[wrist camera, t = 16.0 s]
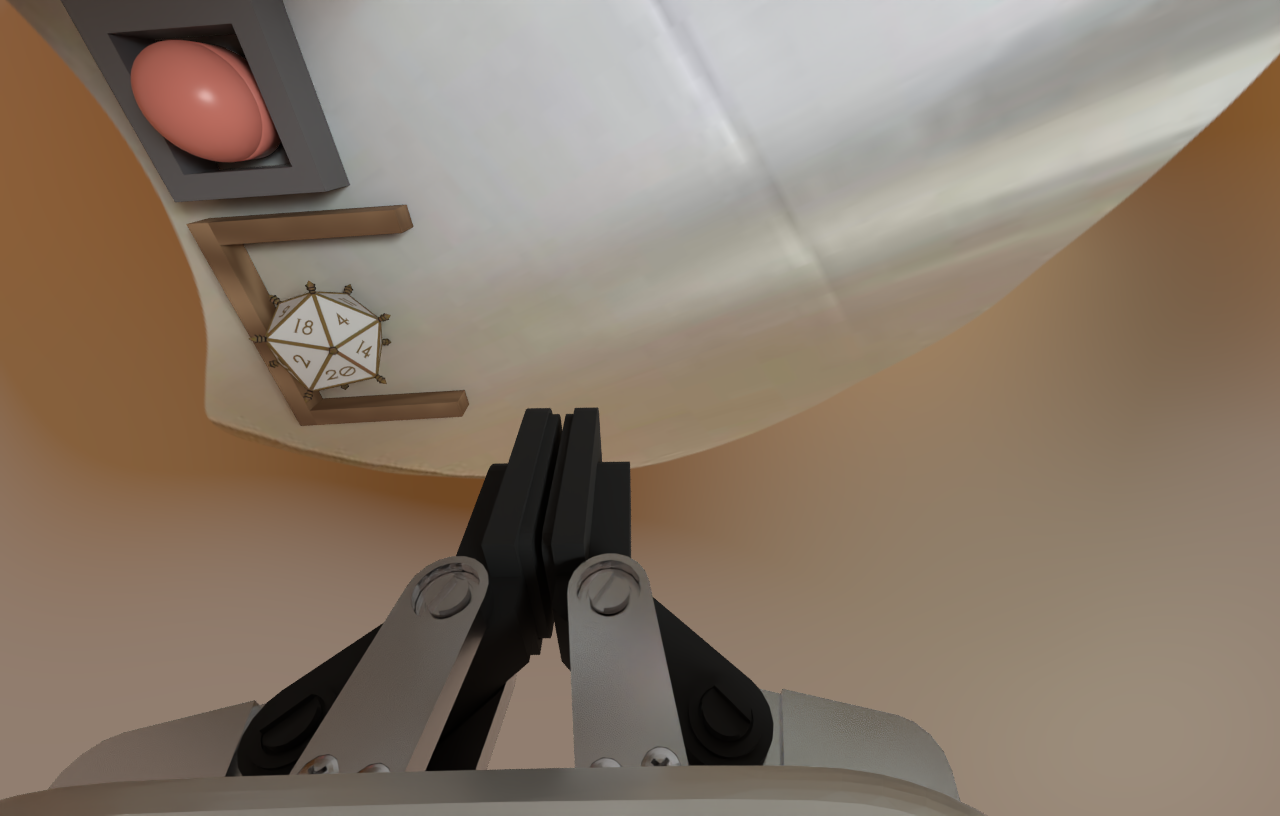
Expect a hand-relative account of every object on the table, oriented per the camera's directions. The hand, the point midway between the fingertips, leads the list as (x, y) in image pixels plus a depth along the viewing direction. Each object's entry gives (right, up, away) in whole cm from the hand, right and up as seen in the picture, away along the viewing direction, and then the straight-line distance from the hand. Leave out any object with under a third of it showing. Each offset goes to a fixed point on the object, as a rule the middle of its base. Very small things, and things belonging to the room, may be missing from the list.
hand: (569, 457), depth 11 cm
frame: (-21, +8, +27) cm, 35 cm away
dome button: (-24, +21, +19) cm, 37 cm away
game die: (-22, +8, +27) cm, 35 cm away
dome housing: (-24, +21, +18) cm, 37 cm away
